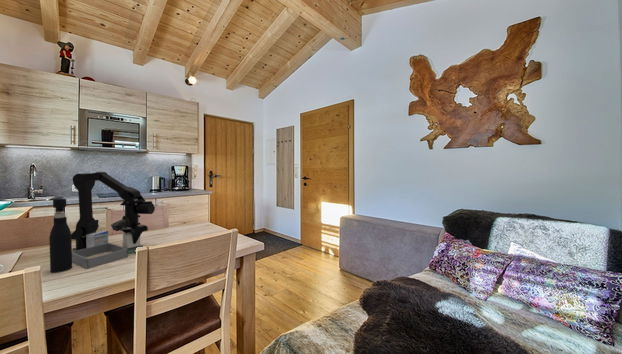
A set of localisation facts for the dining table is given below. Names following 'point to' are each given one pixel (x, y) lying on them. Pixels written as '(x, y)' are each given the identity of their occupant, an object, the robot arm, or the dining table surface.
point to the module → (129, 241)
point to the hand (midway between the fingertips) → (132, 242)
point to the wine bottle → (60, 240)
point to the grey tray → (116, 254)
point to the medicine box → (97, 238)
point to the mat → (133, 249)
